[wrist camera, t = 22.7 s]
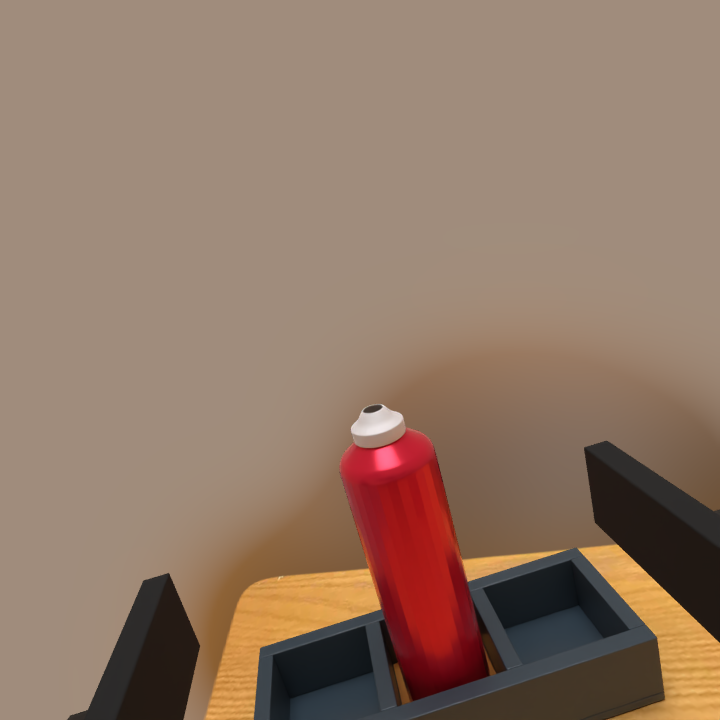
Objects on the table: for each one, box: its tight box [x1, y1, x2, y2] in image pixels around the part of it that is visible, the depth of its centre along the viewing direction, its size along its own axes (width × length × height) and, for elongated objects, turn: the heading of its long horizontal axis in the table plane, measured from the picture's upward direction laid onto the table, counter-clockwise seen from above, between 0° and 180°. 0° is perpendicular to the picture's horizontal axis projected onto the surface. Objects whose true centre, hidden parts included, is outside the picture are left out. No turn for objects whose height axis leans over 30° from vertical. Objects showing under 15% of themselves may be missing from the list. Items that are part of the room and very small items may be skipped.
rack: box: [254, 548, 665, 720], centre depth 32 cm, size 8×24×5 cm, turn 97°
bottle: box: [339, 404, 491, 702], centre depth 30 cm, size 5×6×20 cm
